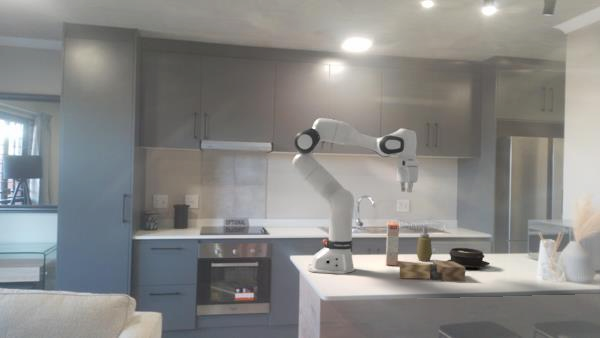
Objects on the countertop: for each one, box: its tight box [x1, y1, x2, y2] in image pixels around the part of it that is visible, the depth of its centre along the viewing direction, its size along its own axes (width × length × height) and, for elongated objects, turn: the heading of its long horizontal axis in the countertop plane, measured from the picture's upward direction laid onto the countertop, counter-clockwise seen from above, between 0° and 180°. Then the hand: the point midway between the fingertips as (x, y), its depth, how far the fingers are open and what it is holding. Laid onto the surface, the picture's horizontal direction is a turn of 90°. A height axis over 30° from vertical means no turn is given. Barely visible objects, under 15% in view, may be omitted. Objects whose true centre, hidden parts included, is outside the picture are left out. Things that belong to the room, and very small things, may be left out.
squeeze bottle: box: [416, 226, 433, 262], centre depth 224 cm, size 8×8×18 cm
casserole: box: [446, 247, 491, 270], centre depth 211 cm, size 25×19×8 cm
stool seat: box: [429, 260, 466, 282], centre depth 187 cm, size 15×12×6 cm
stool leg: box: [399, 262, 437, 279], centre depth 183 cm, size 16×3×6 cm, turn 93°
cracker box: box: [385, 221, 400, 267], centre depth 215 cm, size 14×6×21 cm, turn 168°
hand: (406, 191), depth 195 cm, fingers open, 8 cm apart
